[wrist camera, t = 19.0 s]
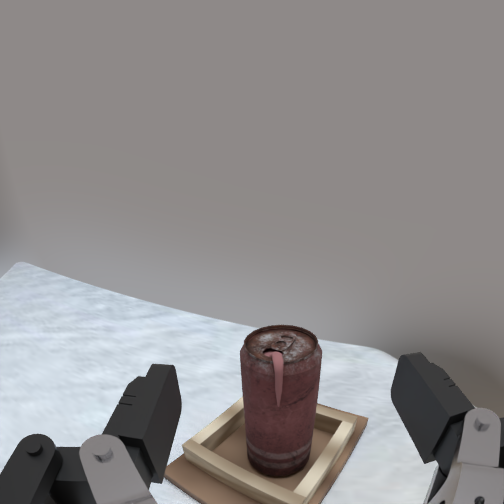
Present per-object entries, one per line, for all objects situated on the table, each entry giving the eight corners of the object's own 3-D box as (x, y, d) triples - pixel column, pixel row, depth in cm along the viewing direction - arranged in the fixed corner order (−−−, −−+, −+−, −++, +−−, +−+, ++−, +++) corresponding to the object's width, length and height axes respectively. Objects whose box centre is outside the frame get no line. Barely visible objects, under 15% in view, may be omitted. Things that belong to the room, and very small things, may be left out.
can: (248, 483, 22) (239, 368, 18) (246, 437, 28) (239, 323, 24) (314, 477, 22) (333, 361, 18) (304, 432, 28) (313, 319, 25)
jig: (285, 548, 15) (288, 535, 14) (163, 476, 23) (154, 456, 22) (366, 424, 29) (372, 402, 28) (265, 392, 37) (265, 370, 36)
